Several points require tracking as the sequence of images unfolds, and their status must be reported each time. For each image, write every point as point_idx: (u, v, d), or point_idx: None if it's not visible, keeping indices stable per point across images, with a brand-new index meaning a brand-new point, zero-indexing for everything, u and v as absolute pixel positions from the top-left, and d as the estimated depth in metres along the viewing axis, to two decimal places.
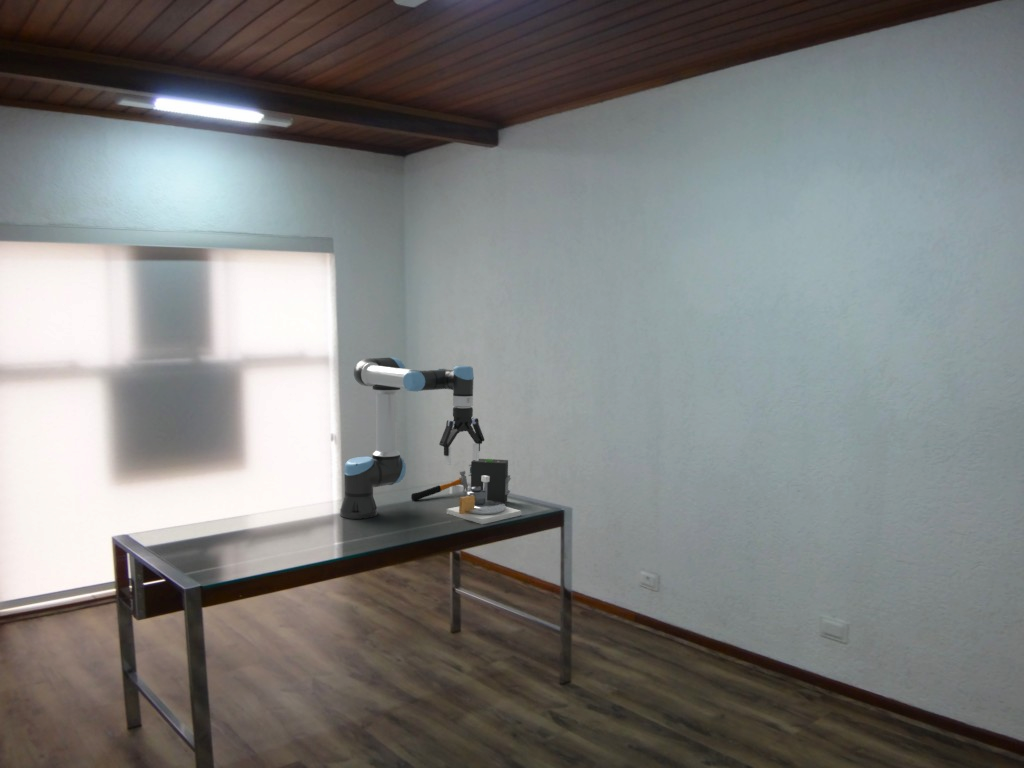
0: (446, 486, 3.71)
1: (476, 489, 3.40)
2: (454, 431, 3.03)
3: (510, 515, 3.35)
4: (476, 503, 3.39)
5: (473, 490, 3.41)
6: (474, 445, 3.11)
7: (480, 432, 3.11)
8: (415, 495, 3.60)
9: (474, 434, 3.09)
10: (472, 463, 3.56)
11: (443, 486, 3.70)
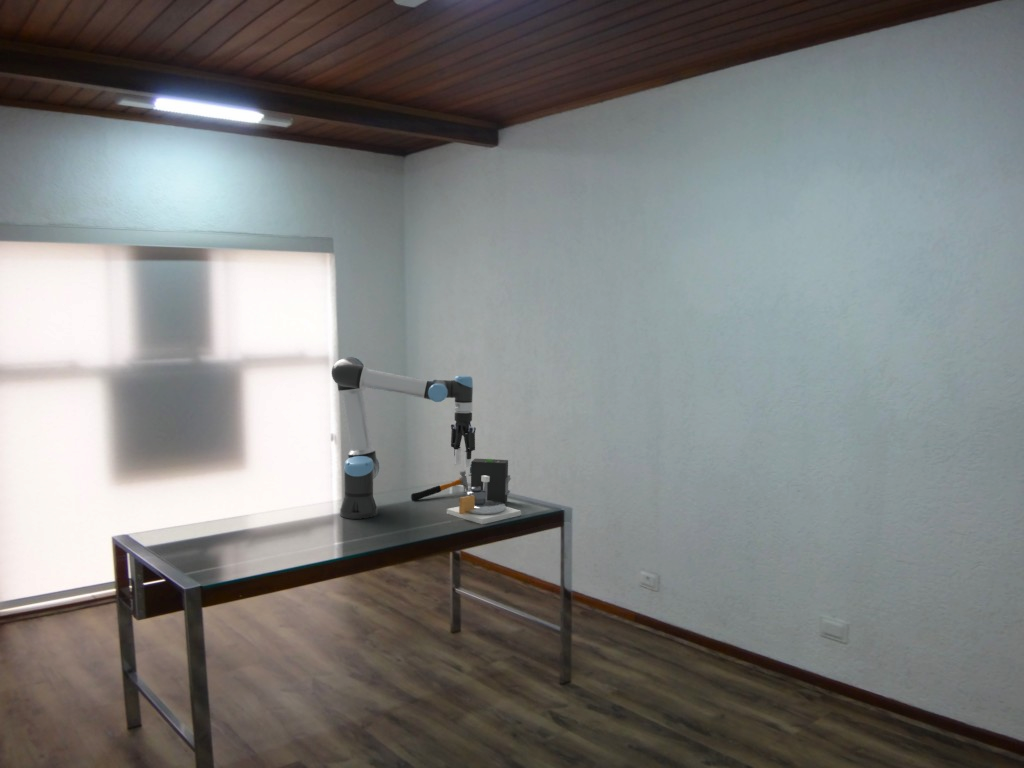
0: (446, 486, 3.71)
1: (476, 489, 3.40)
2: None
3: (510, 515, 3.35)
4: (476, 503, 3.39)
5: (473, 490, 3.41)
6: None
7: (469, 441, 3.42)
8: (415, 495, 3.60)
9: (465, 440, 3.44)
10: (472, 463, 3.56)
11: (443, 486, 3.70)
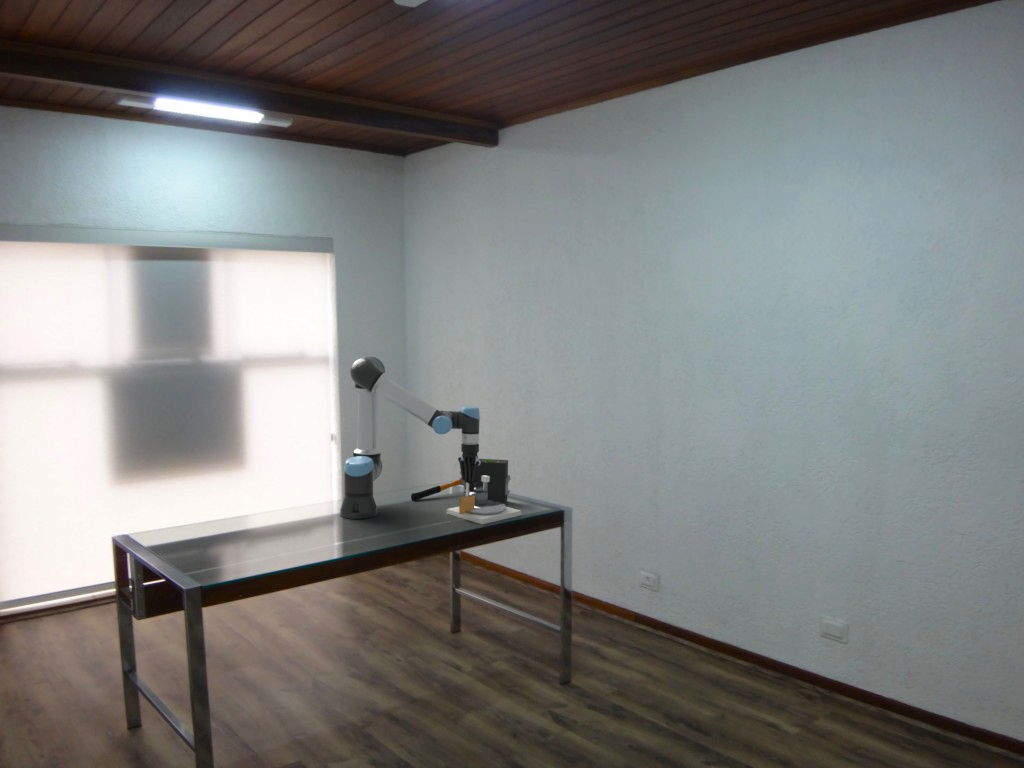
0: (446, 486, 3.71)
1: (478, 490, 3.39)
2: None
3: (510, 515, 3.35)
4: (478, 504, 3.38)
5: (475, 491, 3.40)
6: None
7: (473, 473, 3.41)
8: (415, 495, 3.60)
9: (469, 472, 3.43)
10: None
11: (443, 486, 3.70)
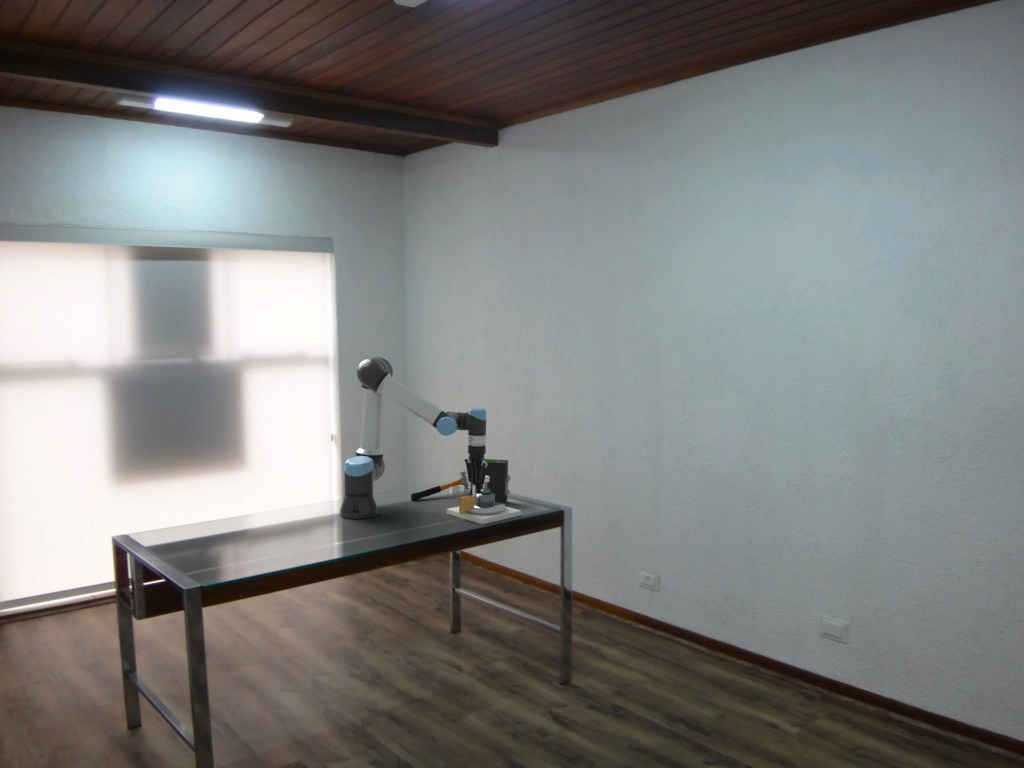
0: (446, 486, 3.71)
1: (485, 491, 3.36)
2: None
3: (510, 515, 3.35)
4: (485, 505, 3.35)
5: (482, 492, 3.37)
6: None
7: (480, 475, 3.38)
8: (414, 495, 3.60)
9: (476, 474, 3.40)
10: None
11: (443, 486, 3.70)
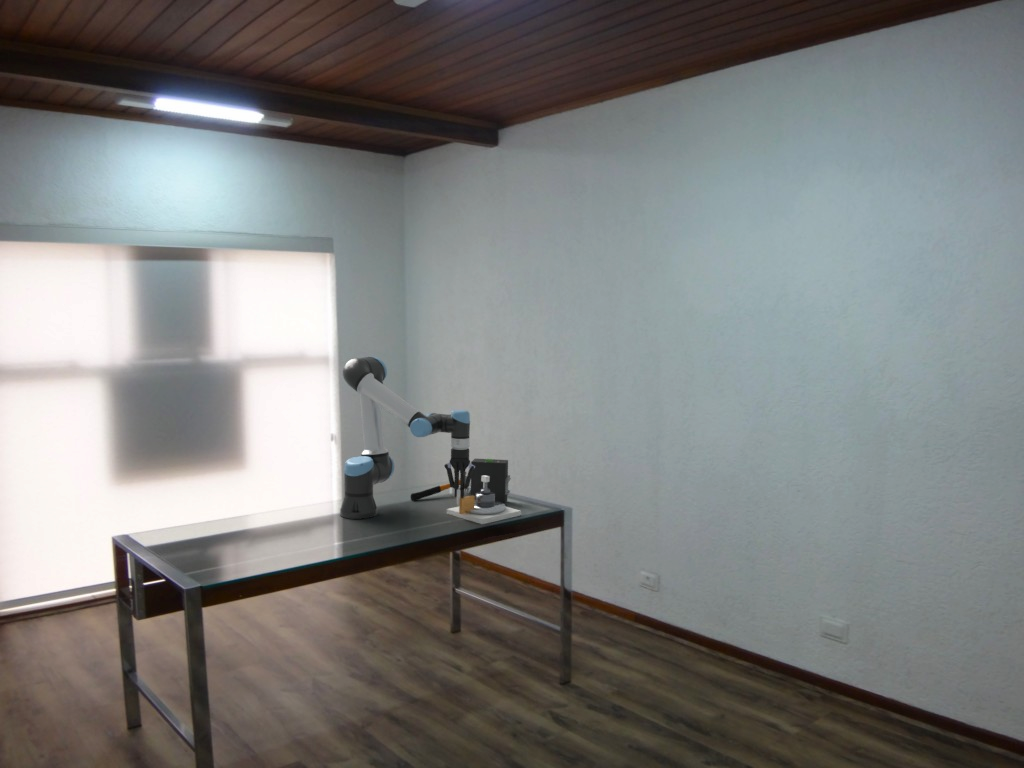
0: (446, 486, 3.70)
1: (485, 491, 3.36)
2: None
3: (510, 515, 3.35)
4: (486, 506, 3.35)
5: (482, 492, 3.37)
6: None
7: (467, 479, 3.30)
8: (414, 495, 3.60)
9: (461, 478, 3.30)
10: (472, 463, 3.56)
11: (443, 486, 3.69)
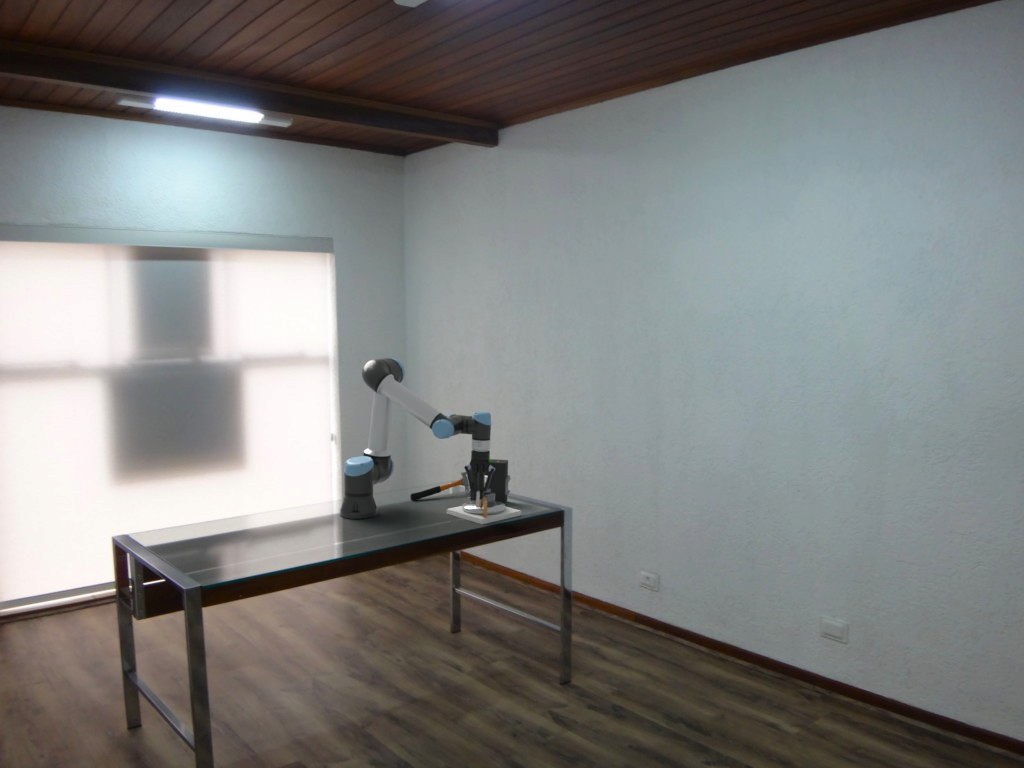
0: (446, 487, 3.70)
1: (489, 491, 3.38)
2: None
3: (510, 515, 3.35)
4: (493, 504, 3.37)
5: (487, 492, 3.37)
6: None
7: (487, 481, 3.27)
8: (414, 495, 3.60)
9: (481, 480, 3.28)
10: None
11: (443, 486, 3.69)
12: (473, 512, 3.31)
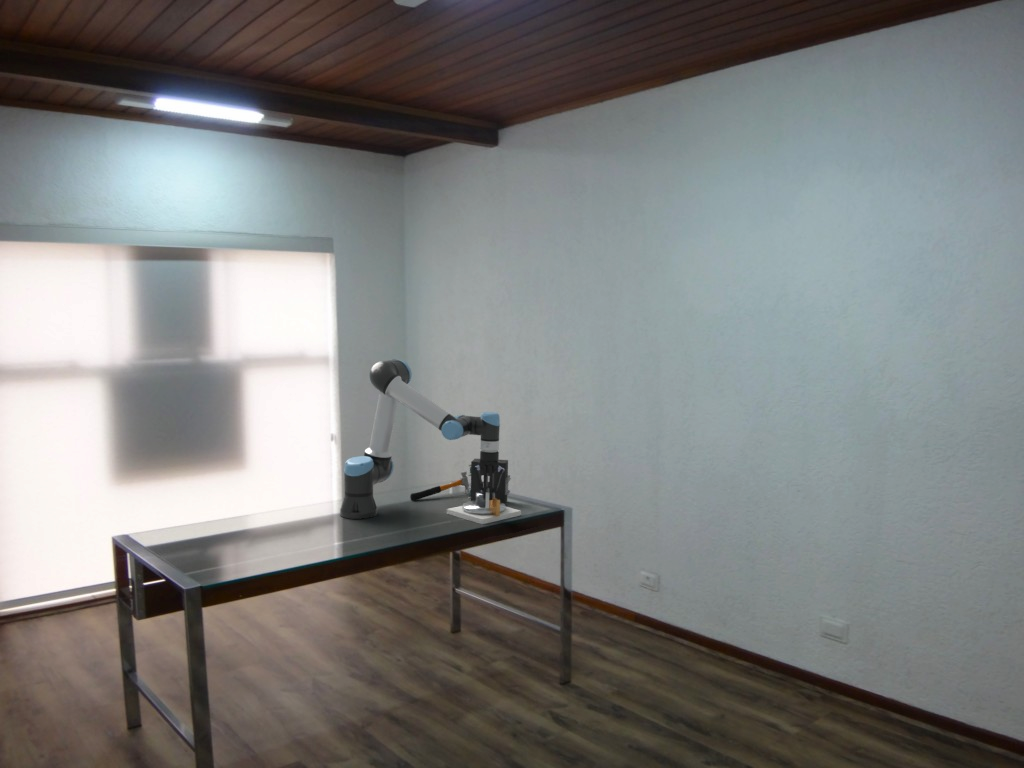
0: (446, 487, 3.70)
1: None
2: None
3: (510, 515, 3.35)
4: None
5: None
6: None
7: (497, 482, 3.27)
8: (414, 495, 3.60)
9: (490, 481, 3.28)
10: (472, 463, 3.56)
11: (443, 487, 3.69)
12: (482, 513, 3.30)
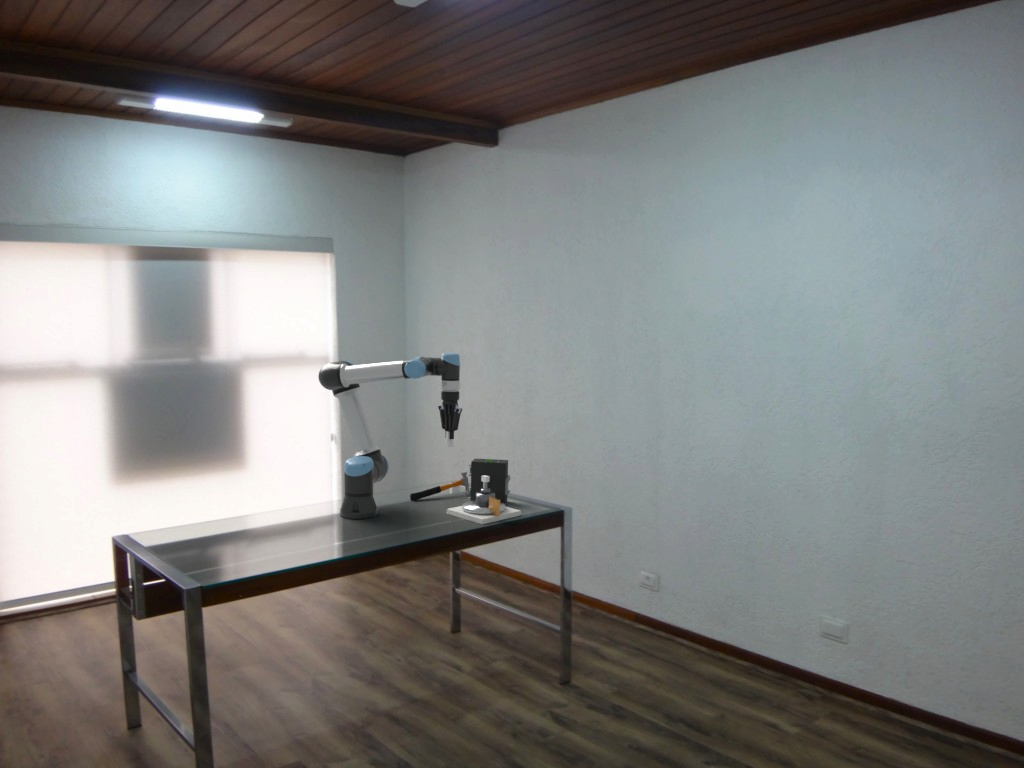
0: (446, 487, 3.70)
1: None
2: None
3: (510, 515, 3.35)
4: None
5: (488, 492, 3.38)
6: None
7: (453, 421, 3.33)
8: (414, 495, 3.60)
9: (449, 420, 3.35)
10: (472, 463, 3.56)
11: (443, 487, 3.69)
12: (482, 513, 3.30)
